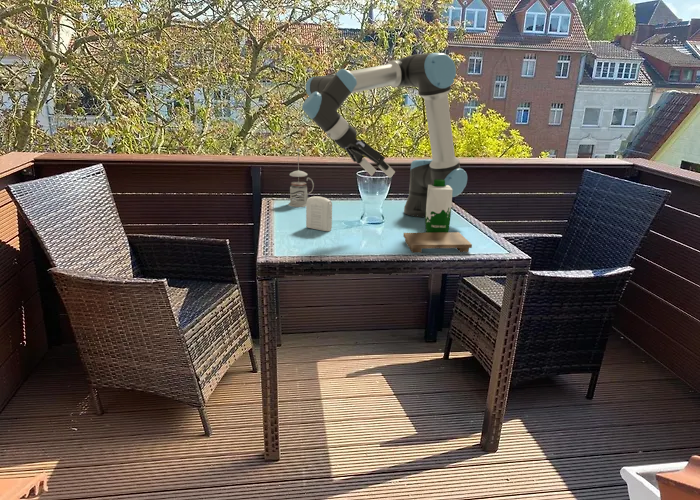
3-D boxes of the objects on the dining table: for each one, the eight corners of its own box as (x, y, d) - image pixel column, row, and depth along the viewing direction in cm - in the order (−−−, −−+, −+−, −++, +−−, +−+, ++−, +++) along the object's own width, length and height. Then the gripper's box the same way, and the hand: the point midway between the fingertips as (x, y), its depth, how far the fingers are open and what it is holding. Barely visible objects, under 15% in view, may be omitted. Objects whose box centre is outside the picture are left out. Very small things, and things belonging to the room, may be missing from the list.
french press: (289, 201, 228) (288, 146, 220) (314, 202, 228) (314, 147, 220) (286, 206, 219) (285, 149, 211) (312, 207, 219) (312, 150, 211)
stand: (458, 240, 176) (458, 232, 175) (471, 253, 163) (471, 244, 162) (403, 240, 174) (403, 232, 173) (411, 253, 161) (412, 245, 160)
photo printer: (333, 229, 186) (334, 197, 182) (327, 232, 182) (328, 199, 178) (310, 225, 191) (310, 194, 187) (304, 228, 187) (304, 196, 183)
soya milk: (446, 231, 186) (450, 179, 180) (450, 238, 178) (455, 183, 171) (422, 231, 186) (426, 178, 180) (426, 238, 178) (430, 183, 171)
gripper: (320, 141, 174) (360, 179, 184) (350, 141, 152) (394, 184, 162) (333, 125, 175) (372, 164, 185) (365, 122, 153) (407, 167, 163)
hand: (382, 174), depth 173 cm, fingers open, 13 cm apart
